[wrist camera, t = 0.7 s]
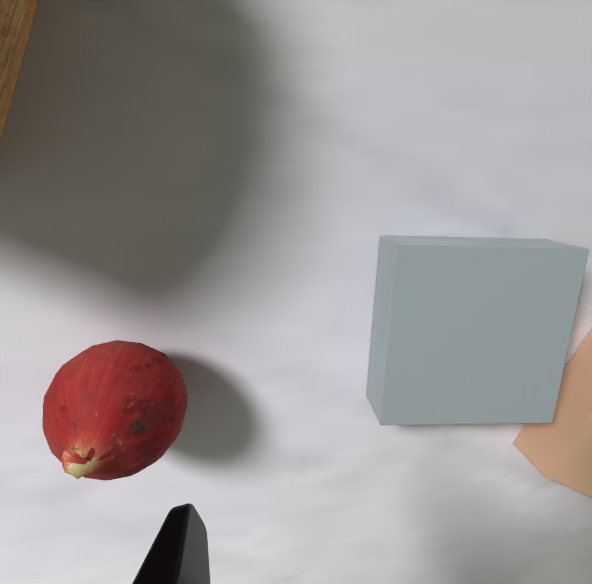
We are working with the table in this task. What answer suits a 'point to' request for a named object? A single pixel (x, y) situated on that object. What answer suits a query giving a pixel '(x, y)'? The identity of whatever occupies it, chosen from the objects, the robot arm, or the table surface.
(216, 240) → the table surface
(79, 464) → the onion
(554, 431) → the terracotta slab
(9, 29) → the wooden box
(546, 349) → the stone slab
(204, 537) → the robot arm
